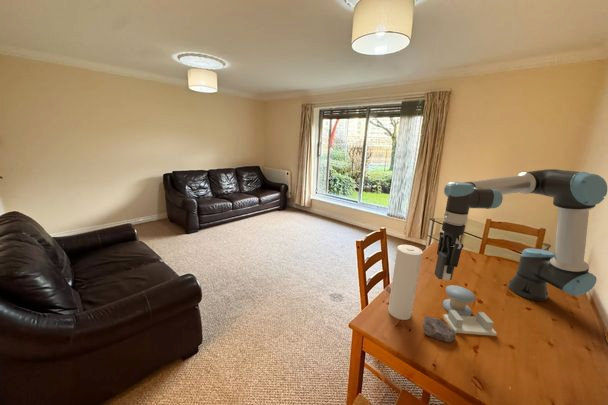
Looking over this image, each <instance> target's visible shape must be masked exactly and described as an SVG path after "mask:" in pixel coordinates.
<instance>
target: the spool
mask: <svg viewBox="0 0 608 405" xmlns="http://www.w3.org/2000/svg"><path fill="white" fill-rule="evenodd" d="M445 293H446V295H447V296H448V297H450V298H446V299H444V300H443V302H442V306H443V309H444V310H446V312H448V313H449V310H456V312H457V313H458V314H459V315H460V316H472V313H473V312H472V308H471V307H470V306H469V305H468V304H471V303H474V302H475V300H476V295H475V294H474V293H473V291H471V290H469V289H467V288H465V287H463V286H460V285H453V284H451V285H448V286H446V287H445Z"/></svg>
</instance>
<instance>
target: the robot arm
mask: <svg viewBox="0 0 608 405" xmlns="http://www.w3.org/2000/svg"><path fill="white" fill-rule="evenodd" d="M443 193H444V195H445V196H446V197H447V200H446V206H445V212H444V213H443V216H444V217H443V221H442V225H441V230H442V231H439V239H438V246H437V251H436V254H437V256H438V253H439V252H445V253H447V264H445V267H444V271H443V276H442V279H441V280H442V281H451V280H450V277H451V273H452V269H453V267H454V268H457V267H458V265H459V261H460V258H461V253H462V250H463V248H464V244H463V243H461V242H460V241H461V240H460V236H462V235H464V234H465V229H466V224H467V220H468V216H469V212H470V209H486V210H490V209H496V208H499V207H500V206H501V205H502V203H503V200H504V196H503V195H509V194H517V193H520V194H523V195H528V194H535V195H541V196H544V197H545V196H546V197H548V198H549V197H550V198H553V199H552V200H553V202H552V204H553V206H554V207H555V208H557V219H556V234H555V235H556V236H555V249H554V250H555V252H552V251H550V250H546V249H545V250H544V249H540V248H534V247H533V248H532V247H529V248H528V247H527V248H524V249H523V250H522V252H521V255H520V256H519V257H520V259H519V261H518V266H517V270H516V272H515V274H514V276H513V277H512V278H511V279H510V280H509V281H508V285H507V287H508V289H509V290H510V291H511V292H512V293H514V294H517V296H520V297H523V298H525V299H528V300H532V301H538V302H545V301H547V300H548V296H549V293H548V285H547V284H549V285H551V286H553V287H555V288H557V289H559V290H560V291H562V292H564V293H567V294H568V295H570V296H575V297H578V296H579V297H580V296H583V295H585V294H587V293H589V292H590V291H591V290H592V289H593V288H594V287H595V286H596V283H597V281H598V279H597V276H595V274H593V273H591V272H590V271H589V268H590V266H589V264H588V262H587V261H585V256H586V255H585V254H586V245H587V244H586V243H587V236H588V235H587V234H588V225H589V224H588V223H589V215H590V210H593V209H594V208H595V207H596V205H598V204H600V203H601V202H603V201H604V200H605V197H606V196H607V194H608V184H607V182H606V180H605V178H603V177H602V176H601V175H599V174H596V173H589V172H585V171H576V170H575V171H574V170H564V169H563V170H562V169H556V168H553V169H552V168H551V169H549V168H548V169H540V170H531V171H524V172H520V173H518V174H517V175H510V176H502V177H496V178H488V179H481V180H474V181H473V180H472V181H464V182H461V181H450V182H449V181H448V183H446V184H445V185H444V188H443Z"/></svg>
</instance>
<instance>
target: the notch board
mask: <svg viewBox="0 0 608 405" xmlns="http://www.w3.org/2000/svg"><path fill="white" fill-rule="evenodd" d="M442 318H443V319H444V320H445V323H447V325H448V327H449V328H451V329H453V330H455V332H456V334H465V335H466V334H469V335H479V336H483V335H484V336H493V337H494V336H495V337H497V332H496V331H495V329H494V328H493V327H494V321H493V320H492V319H491V318H490V317H489V316H488V315H487V313H485V312H483V311H477V312H476V316H474V315H473V316H472V315H471V316H460V315H459V314H458V313H457V312H456V310H449V312H448V314H447V313H446V314H442Z"/></svg>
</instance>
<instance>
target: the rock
mask: <svg viewBox="0 0 608 405" xmlns="http://www.w3.org/2000/svg"><path fill="white" fill-rule="evenodd" d="M422 321H423V322H422V329H423V332H424V334H425V335H426V336H428V337H431V338H434V339H436V340H439V341H442V342H446V343H451V342H452V341H454V340H455V339H456V336H457V333H456V332H455V330H453V329H451V327H450V326H449V325H448V324H446V322H444V321H443V320H442V319H440V318H437V317H436V318H435V317H431V316H424V317H423V320H422Z"/></svg>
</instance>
